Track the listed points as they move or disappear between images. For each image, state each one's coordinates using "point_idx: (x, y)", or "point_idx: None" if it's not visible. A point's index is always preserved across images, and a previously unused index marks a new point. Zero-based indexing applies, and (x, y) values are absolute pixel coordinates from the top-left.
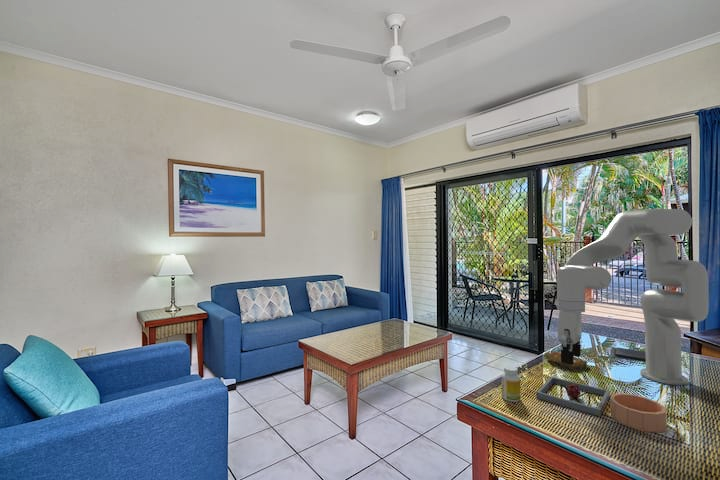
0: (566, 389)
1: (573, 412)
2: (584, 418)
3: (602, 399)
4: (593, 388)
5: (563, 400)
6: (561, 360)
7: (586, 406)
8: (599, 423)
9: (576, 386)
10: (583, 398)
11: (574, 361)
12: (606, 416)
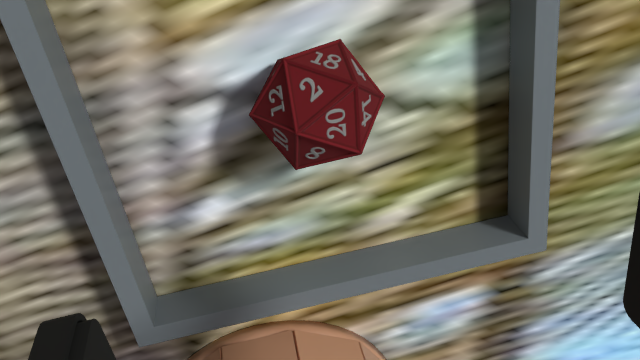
0: (279, 68)
1: (24, 205)
2: (11, 281)
3: (338, 287)
4: (525, 163)
5: (50, 133)
6: (38, 346)
7: (112, 279)
8: None
9: (340, 149)
10: None
11: None
12: None
